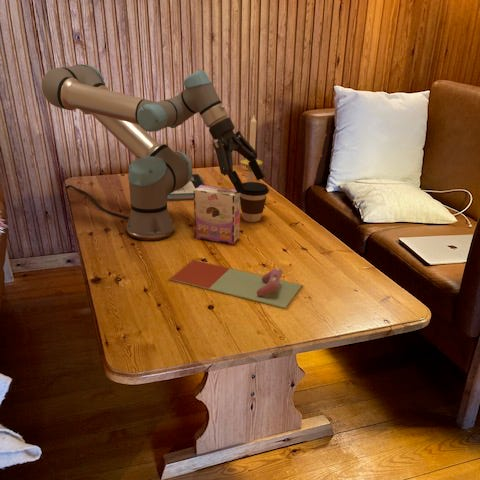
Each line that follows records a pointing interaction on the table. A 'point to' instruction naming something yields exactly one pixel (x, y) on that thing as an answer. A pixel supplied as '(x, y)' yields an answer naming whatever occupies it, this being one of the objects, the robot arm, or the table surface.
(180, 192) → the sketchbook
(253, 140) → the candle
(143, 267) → the table surface
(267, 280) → the video game controller
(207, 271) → the placemat
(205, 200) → the candy box
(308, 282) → the table surface
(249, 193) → the coffee cup
